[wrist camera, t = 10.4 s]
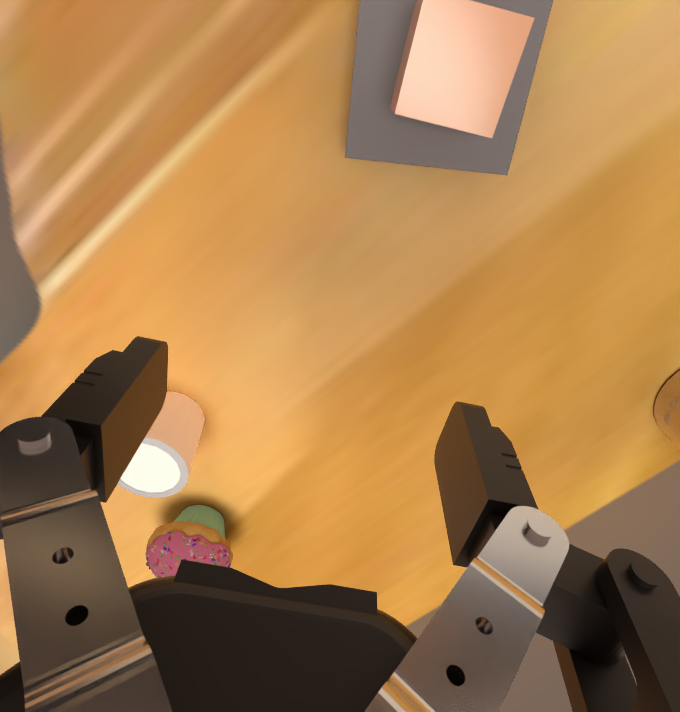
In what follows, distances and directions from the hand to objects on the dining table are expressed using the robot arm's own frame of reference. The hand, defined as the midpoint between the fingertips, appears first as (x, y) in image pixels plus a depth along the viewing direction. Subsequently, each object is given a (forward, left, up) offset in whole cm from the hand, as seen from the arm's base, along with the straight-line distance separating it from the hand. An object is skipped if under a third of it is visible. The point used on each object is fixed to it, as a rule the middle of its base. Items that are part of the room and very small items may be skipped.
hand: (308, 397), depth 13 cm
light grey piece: (+12, +22, -24) cm, 35 cm away
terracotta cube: (-4, -9, -20) cm, 23 cm away
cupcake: (+9, +36, -24) cm, 44 cm away
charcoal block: (-4, -9, -24) cm, 26 cm away
